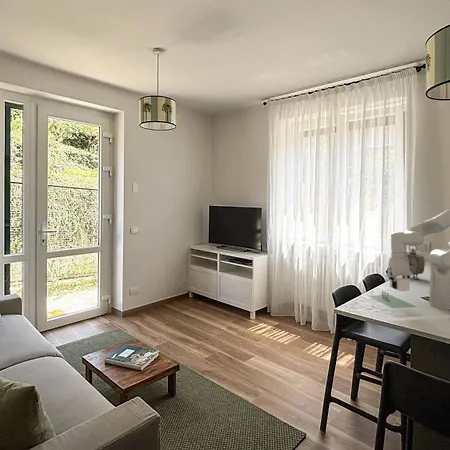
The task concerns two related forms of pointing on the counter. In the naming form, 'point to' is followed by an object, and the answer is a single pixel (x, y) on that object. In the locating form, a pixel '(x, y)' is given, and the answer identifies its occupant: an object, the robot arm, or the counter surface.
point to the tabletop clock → (416, 263)
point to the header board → (391, 301)
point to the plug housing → (402, 284)
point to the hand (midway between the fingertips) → (399, 287)
